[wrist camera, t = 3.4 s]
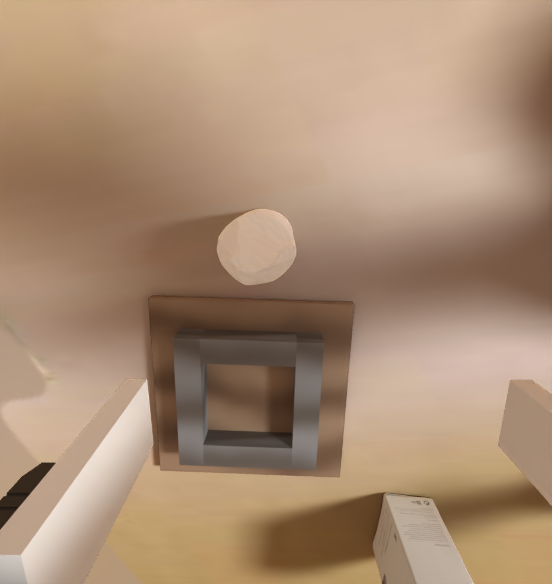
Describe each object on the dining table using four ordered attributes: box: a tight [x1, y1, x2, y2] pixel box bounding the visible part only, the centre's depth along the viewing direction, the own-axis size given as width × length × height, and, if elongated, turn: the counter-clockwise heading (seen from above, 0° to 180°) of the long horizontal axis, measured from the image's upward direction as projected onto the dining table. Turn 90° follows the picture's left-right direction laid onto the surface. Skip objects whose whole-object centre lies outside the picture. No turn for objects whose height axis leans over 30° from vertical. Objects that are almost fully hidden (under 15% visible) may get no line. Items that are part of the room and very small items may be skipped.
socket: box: [148, 296, 354, 477], centre depth 37 cm, size 20×20×4 cm
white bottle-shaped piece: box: [217, 209, 297, 285], centre depth 29 cm, size 6×12×6 cm
